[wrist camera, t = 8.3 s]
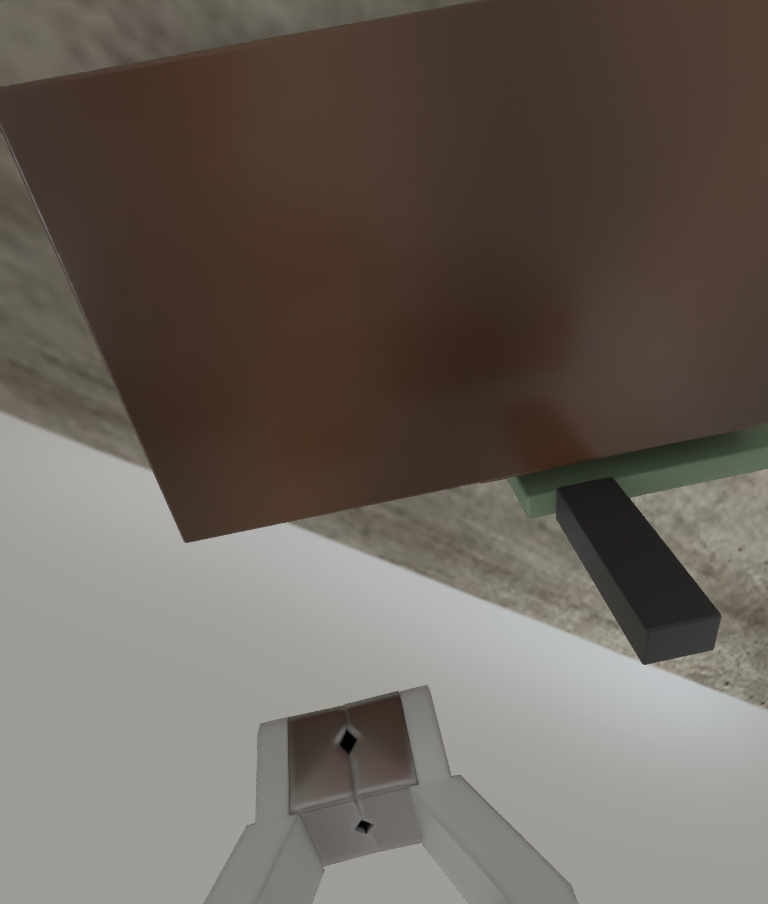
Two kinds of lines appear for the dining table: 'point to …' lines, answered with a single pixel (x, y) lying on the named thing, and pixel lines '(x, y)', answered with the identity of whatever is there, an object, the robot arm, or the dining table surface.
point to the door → (642, 534)
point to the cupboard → (416, 246)
